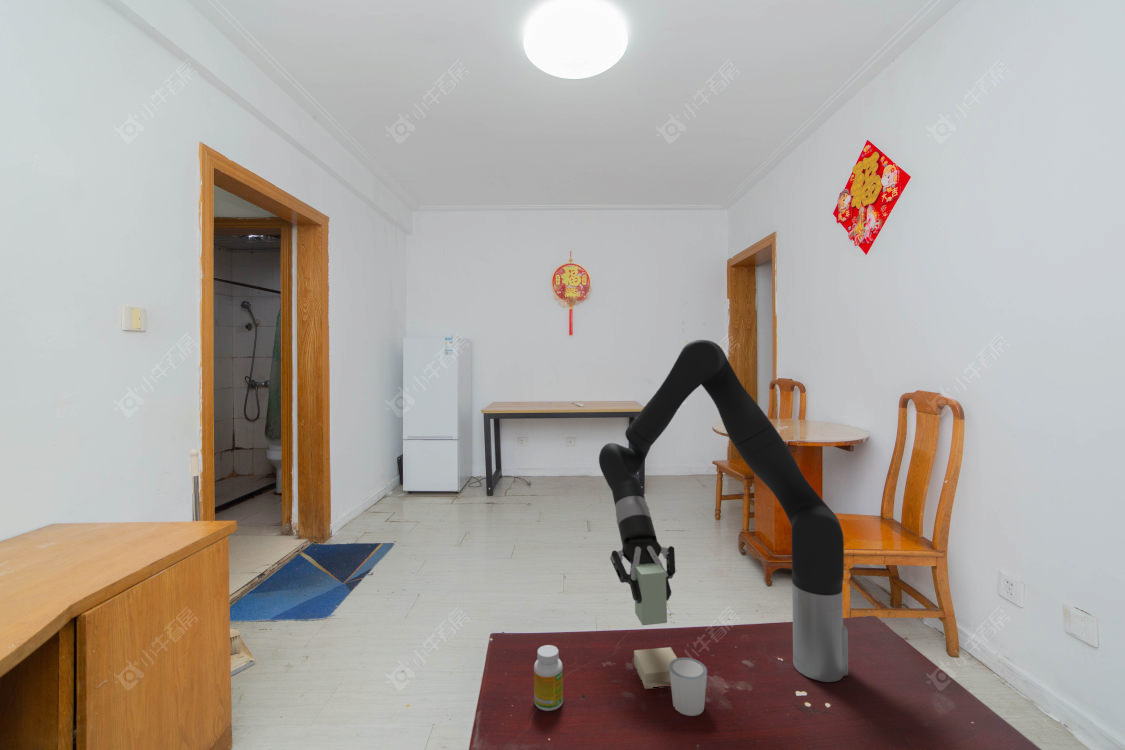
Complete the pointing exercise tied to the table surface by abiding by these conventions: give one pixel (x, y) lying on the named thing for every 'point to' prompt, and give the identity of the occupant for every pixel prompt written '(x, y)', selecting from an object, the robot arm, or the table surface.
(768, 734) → the table surface
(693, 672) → the white cup
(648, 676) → the beech block
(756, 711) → the table surface
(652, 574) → the sage brick
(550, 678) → the supplement bottle
